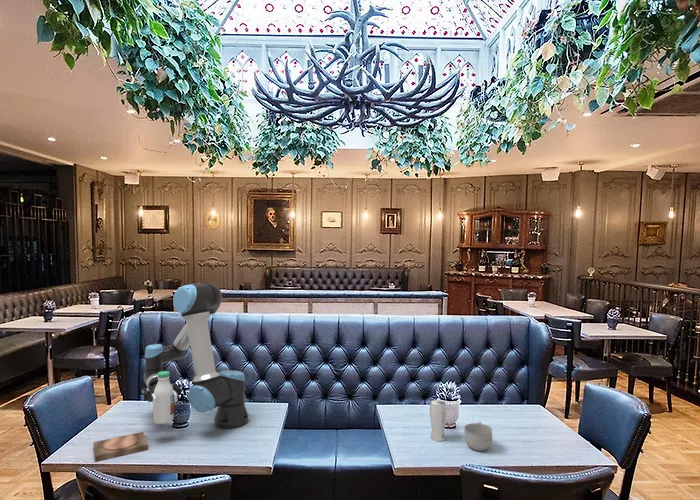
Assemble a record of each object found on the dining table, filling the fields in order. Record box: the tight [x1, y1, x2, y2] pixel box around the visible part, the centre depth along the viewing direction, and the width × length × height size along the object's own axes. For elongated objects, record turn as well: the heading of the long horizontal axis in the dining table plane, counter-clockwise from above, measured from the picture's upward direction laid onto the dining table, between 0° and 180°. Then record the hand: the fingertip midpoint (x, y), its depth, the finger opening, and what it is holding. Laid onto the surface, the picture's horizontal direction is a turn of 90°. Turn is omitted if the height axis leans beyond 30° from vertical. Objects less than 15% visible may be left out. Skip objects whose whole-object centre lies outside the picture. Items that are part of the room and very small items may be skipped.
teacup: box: [463, 421, 493, 452], centre depth 173 cm, size 14×11×8 cm
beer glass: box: [429, 399, 448, 442], centre depth 179 cm, size 7×7×15 cm
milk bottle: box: [152, 370, 175, 425], centre depth 176 cm, size 8×8×20 cm
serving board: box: [93, 431, 149, 463], centre depth 169 cm, size 18×14×3 cm
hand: (165, 399), depth 172 cm, fingers closed on milk bottle, 7 cm apart
